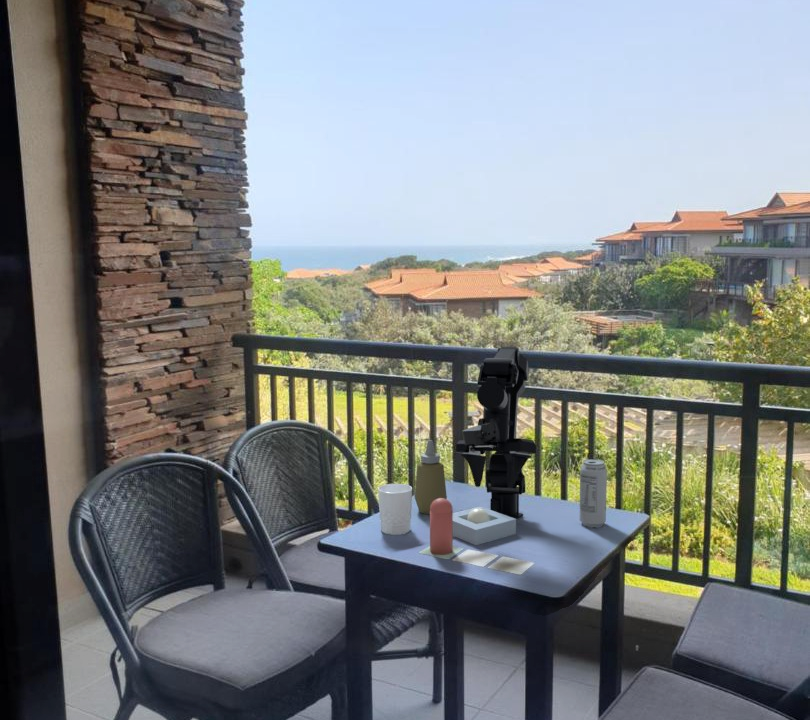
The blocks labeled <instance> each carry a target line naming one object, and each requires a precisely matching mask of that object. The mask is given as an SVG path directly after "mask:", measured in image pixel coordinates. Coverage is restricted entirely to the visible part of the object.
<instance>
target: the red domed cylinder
mask: <svg viewBox="0 0 810 720" xmlns="http://www.w3.org/2000/svg"><path fill="white" fill-rule="evenodd" d="M453 511H454V510H453V505H452V503H451V502H450V500H449V499H444V498H438V499H436V500H434V501H433V502H432V504H431V506H430V514H429V546H430V552H431V553H433V554H438V555H445V554H450V553H452V551H453V546H454V545H453V544H454V542H453V538H454V537H453V513H454V512H453Z"/></svg>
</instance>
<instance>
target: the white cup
mask: <svg viewBox="0 0 810 720" xmlns="http://www.w3.org/2000/svg"><path fill="white" fill-rule="evenodd" d="M377 491H378V493H377V494H378V507H379V508H378V509H379V518H380V519H379V520H380V530H381V532H382V533H384V534H386V535H390V536H391V535H392V536H393V535H395V536H398V535H400V536H401V535H404V534H408V533H409V532H410V531H411V523H412V522H411V521H412V520H411V519H412V510H413V509H412V508H413V506H412V504H413V487H412V486H411V485H409V484H406V483H405V484H404V483H387V484H383V485H381V486H378V488H377Z"/></svg>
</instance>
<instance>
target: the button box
mask: <svg viewBox="0 0 810 720" xmlns="http://www.w3.org/2000/svg"><path fill="white" fill-rule="evenodd" d="M476 508H480V509H483V510H485V511H486V512H487V513H488V515H489V521H487V522H484V523H480V524H475V523H473V522H470V521H467V517H468V514H469V513H470V511H472V510H473V509H476ZM514 535H517V518H512V517H509V516H506V515H504V514H501V513H498V512H495V511H492V510H490V508H486V507H483V506H477V507H476V506H475V507H473V508H468V509H464V510H461V511H456V512H453V538H458V539H460V540H462V541H465V542H467V543H469V544H472V545H474V546H478V545H482V544H485V543H489V542H492V541H496V540H499V539H503V538H506V537H510V536H514Z"/></svg>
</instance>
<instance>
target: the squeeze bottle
mask: <svg viewBox="0 0 810 720" xmlns="http://www.w3.org/2000/svg"><path fill="white" fill-rule="evenodd" d="M440 458H441V456H440V454H439V453H437V452H436V450H435V445H434V441H433V440H432V439H428V440H427V442H426V447H425V452H424V453H422V454H421V455H420V462H419V463H418V464H417V465H416V475H415V486H414V487H415V488H414V495H413V496H414V500H415V502H416V503H415V504H416V505H417V508H418V509H417V510H418V512H419V513H421V514H423V515H424V514H425V515H430V506H431V504H432V502H433V501H434V500H436V499H438V498H444V499H447V498H448V496H447V486H446V477H445V468H444V464H443V463H442V462H440V461H441V459H440ZM447 500H448V499H447Z"/></svg>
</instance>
